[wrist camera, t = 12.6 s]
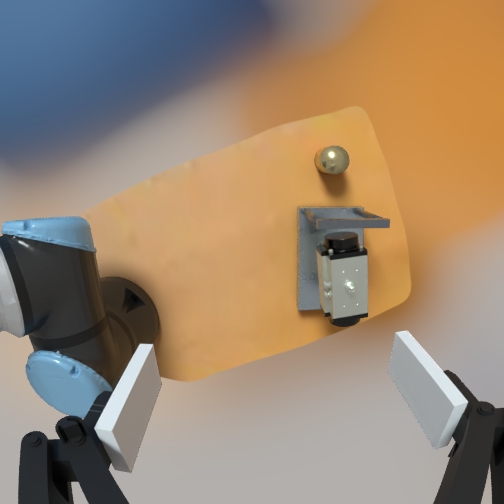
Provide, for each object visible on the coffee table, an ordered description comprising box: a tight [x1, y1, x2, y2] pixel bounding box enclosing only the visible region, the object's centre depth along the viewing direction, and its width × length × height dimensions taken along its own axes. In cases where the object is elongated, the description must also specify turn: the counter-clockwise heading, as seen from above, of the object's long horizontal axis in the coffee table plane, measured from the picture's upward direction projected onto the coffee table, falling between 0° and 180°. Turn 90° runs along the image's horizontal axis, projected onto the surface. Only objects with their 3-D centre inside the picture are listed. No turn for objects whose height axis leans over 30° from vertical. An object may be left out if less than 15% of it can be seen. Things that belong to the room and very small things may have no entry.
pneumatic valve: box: [316, 231, 368, 327], centre depth 42 cm, size 6×12×12 cm, turn 8°
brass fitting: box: [314, 146, 349, 174], centre depth 44 cm, size 4×4×5 cm
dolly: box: [297, 206, 390, 310], centre depth 44 cm, size 10×16×14 cm, turn 2°
